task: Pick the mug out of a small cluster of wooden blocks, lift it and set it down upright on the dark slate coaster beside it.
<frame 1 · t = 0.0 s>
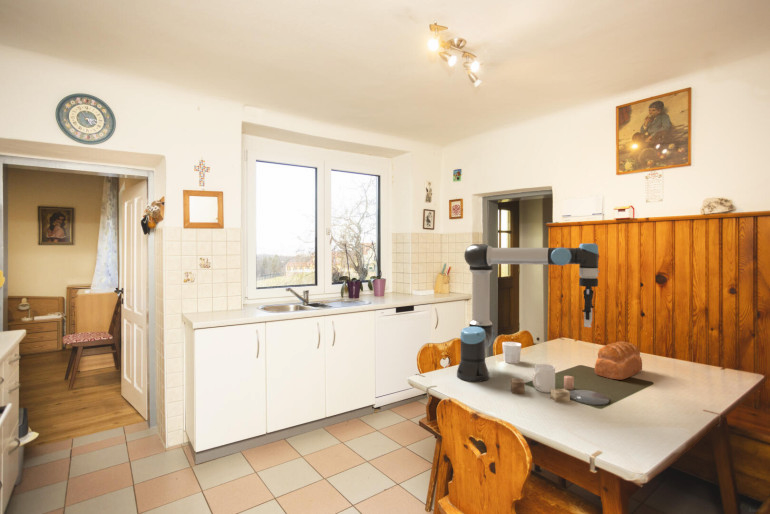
hand: (588, 324, 176), 28 cm above the table, fingers open, 13 cm apart
walnut block: (517, 392, 169), on the table
mug: (542, 390, 171), on the table
cup: (511, 362, 215), on the table
beech block: (560, 400, 160), on the table
coaster: (588, 398, 162), on the table
terracotta cylinder: (568, 388, 174), on the table
bread: (618, 373, 195), on the table
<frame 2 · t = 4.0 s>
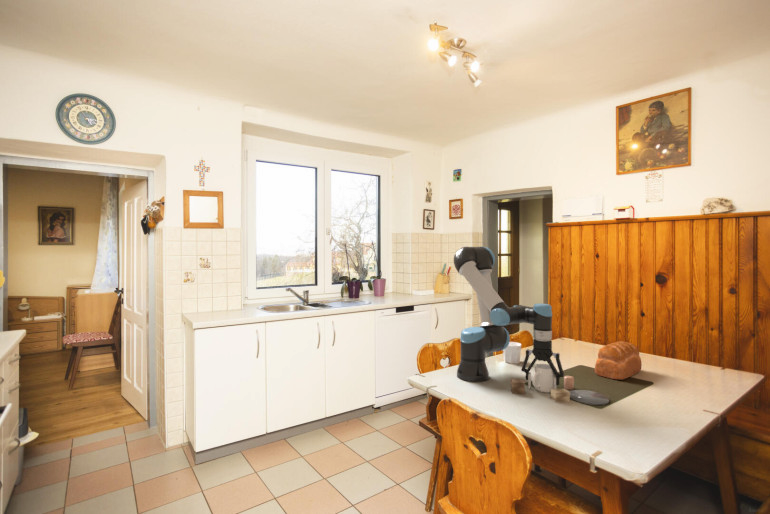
hand: (542, 389, 171), 0 cm above the table, fingers open, 10 cm apart
mug: (541, 390, 171), on the table, touching gripper
everything else where it was.
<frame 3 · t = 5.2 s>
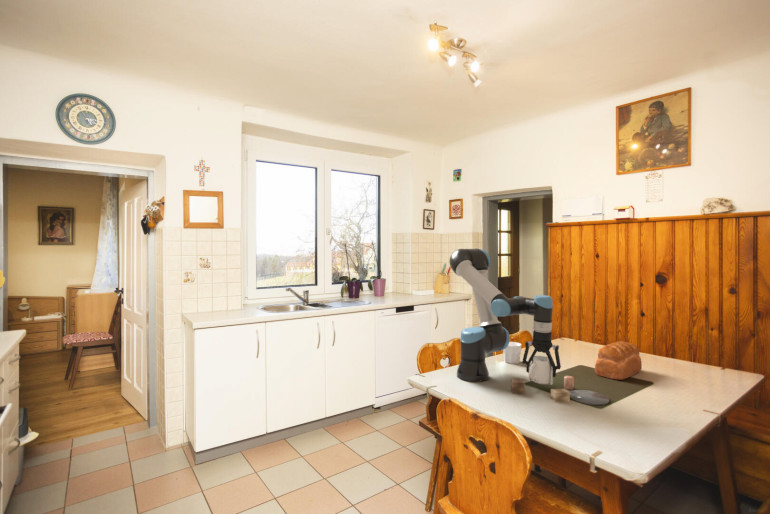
hand: (540, 381, 171), 4 cm above the table, fingers closed on mug, 8 cm apart
mug: (538, 382, 172), point 3 cm above the table, touching gripper
everything else where it was.
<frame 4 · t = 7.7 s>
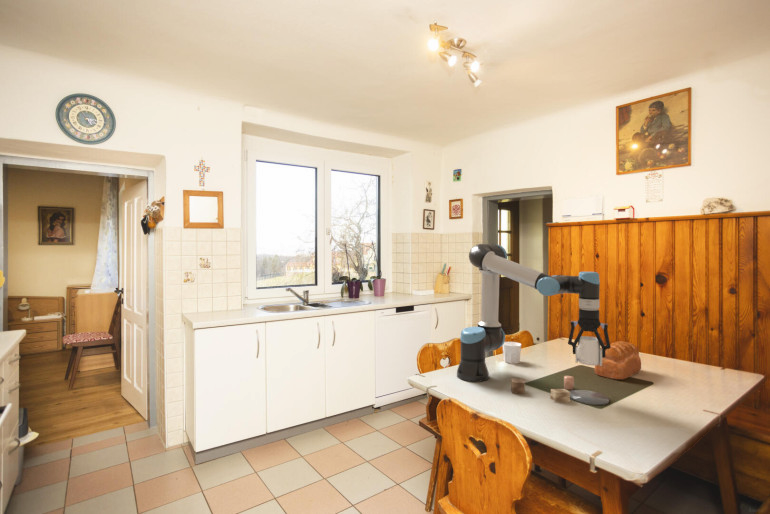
hand: (588, 363, 162), 15 cm above the table, fingers closed on mug, 8 cm apart
mug: (586, 364, 162), point 14 cm above the table, touching gripper
everything else where it was.
when the fingers open (3 cm above the table, at t = 10.5 s): mug drops 2 cm, resting on coaster.
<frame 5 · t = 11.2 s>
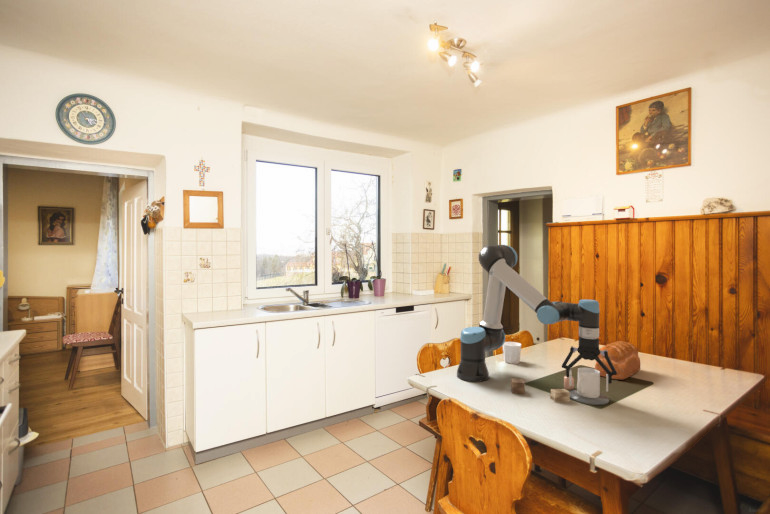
hand: (588, 388, 162), 4 cm above the table, fingers open, 13 cm apart
mug: (585, 396, 162), point 1 cm above the table, touching coaster
everything else where it was.
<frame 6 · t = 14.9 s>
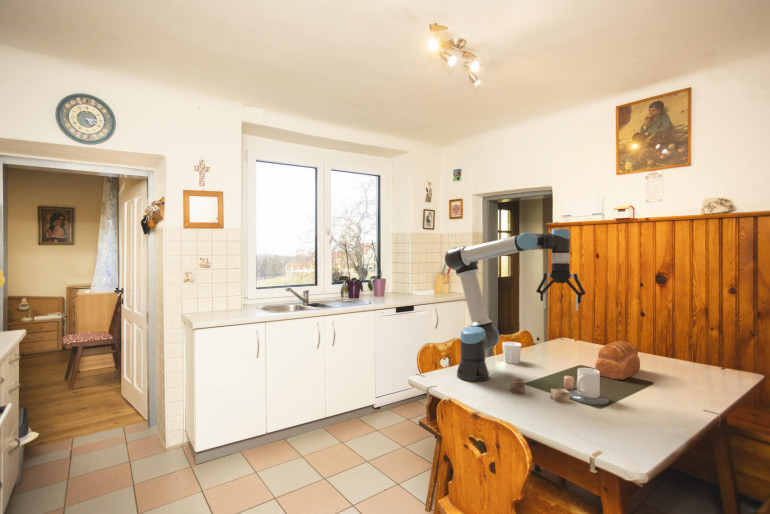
hand: (560, 309, 177), 35 cm above the table, fingers open, 13 cm apart
nothing on the table moved.
at the end: mug inside the target area on the coaster (0.9 cm from its centre), point 0.6 cm above the coaster's base; mug tilted 0°; the gripper is holding nothing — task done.
